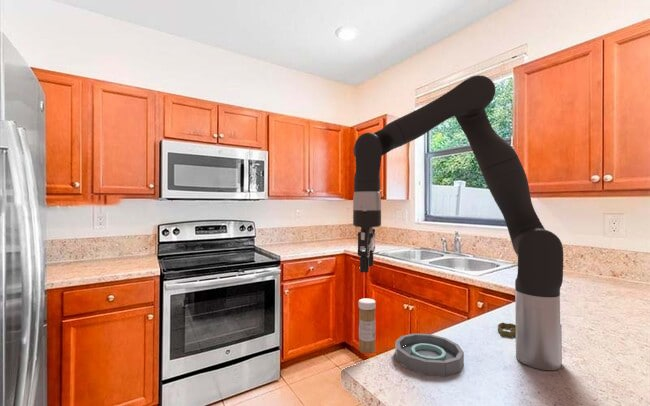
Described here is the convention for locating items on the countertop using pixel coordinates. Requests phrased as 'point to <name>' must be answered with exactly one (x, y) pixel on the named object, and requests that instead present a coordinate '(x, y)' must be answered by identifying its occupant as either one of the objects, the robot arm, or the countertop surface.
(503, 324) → the cookie cutter
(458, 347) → the grey ring dish
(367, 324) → the sprinkles bottle
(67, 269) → the countertop surface
